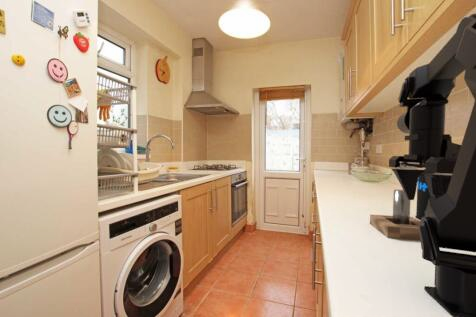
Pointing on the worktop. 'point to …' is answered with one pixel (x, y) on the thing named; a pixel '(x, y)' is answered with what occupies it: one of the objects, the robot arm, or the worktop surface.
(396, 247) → the worktop surface
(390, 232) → the wooden square frame
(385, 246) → the worktop surface
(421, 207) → the aerosol can
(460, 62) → the robot arm
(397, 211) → the metal pin
